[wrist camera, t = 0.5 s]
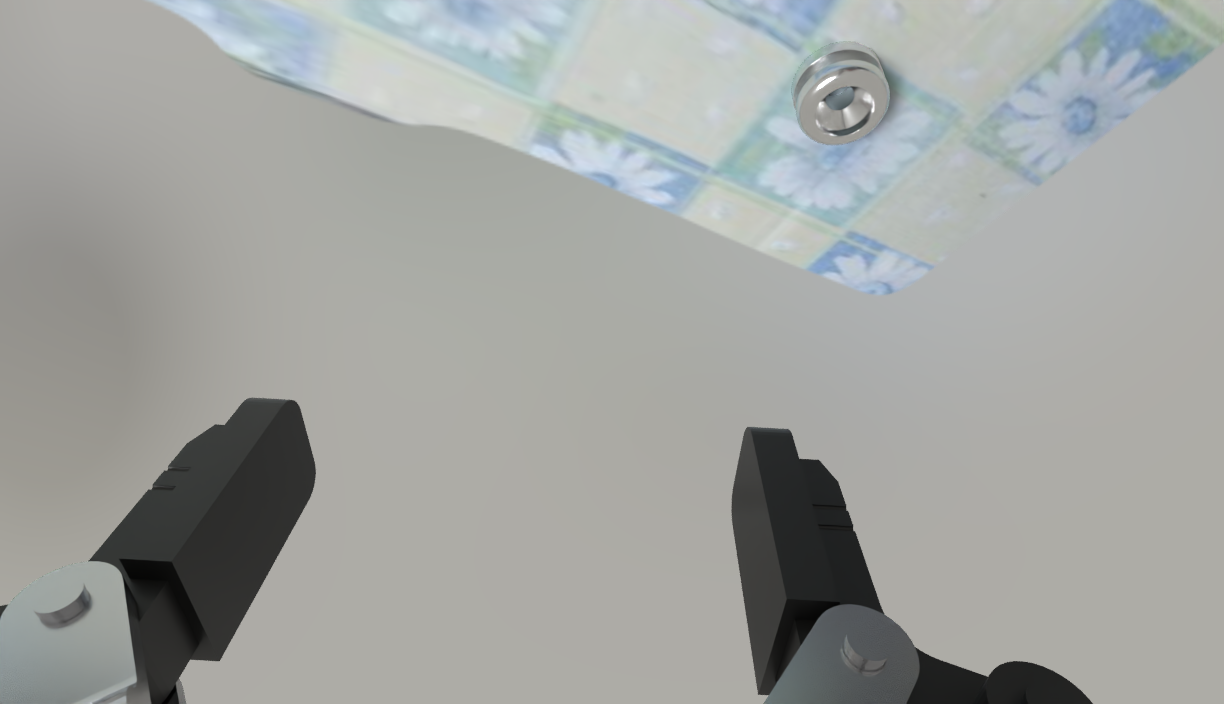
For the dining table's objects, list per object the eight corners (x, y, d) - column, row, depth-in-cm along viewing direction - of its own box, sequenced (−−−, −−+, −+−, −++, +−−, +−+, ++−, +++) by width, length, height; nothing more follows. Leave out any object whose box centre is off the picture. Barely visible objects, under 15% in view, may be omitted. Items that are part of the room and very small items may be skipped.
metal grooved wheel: (874, 26, 36) (782, 61, 38) (885, 55, 35) (788, 91, 36) (886, 102, 40) (801, 131, 42) (897, 132, 38) (808, 161, 40)
